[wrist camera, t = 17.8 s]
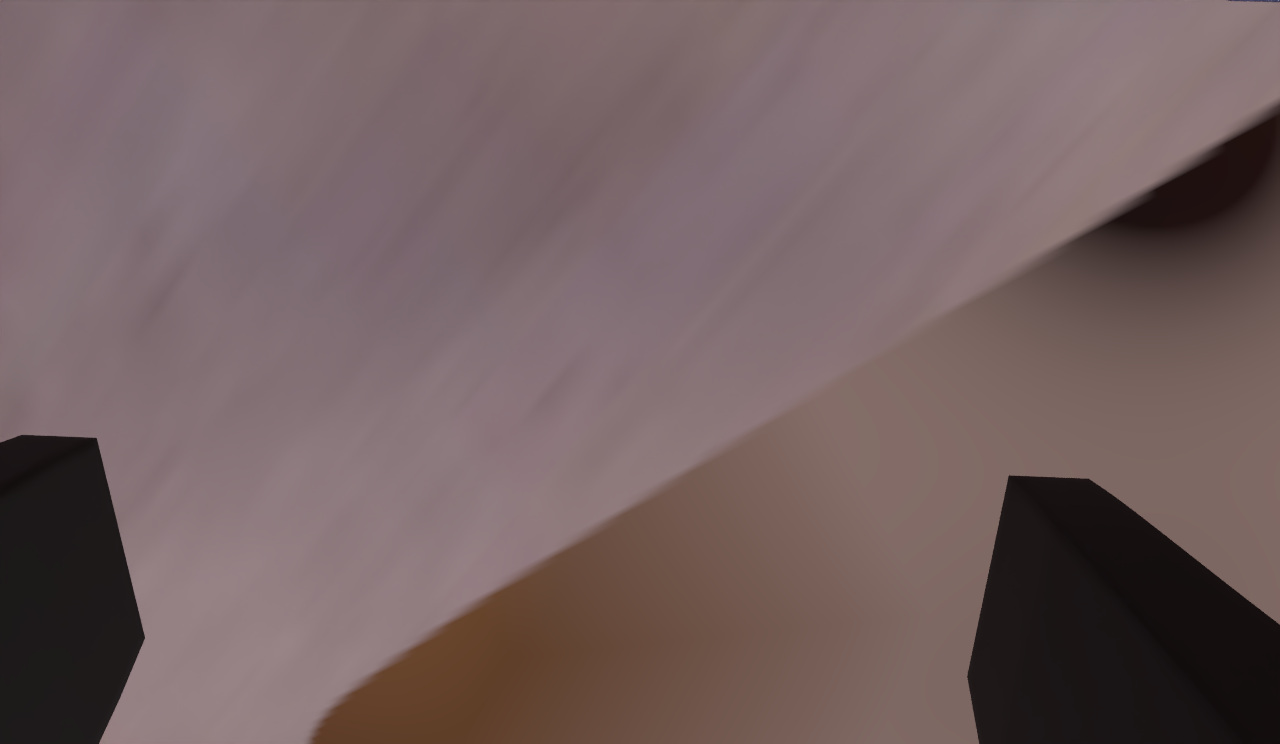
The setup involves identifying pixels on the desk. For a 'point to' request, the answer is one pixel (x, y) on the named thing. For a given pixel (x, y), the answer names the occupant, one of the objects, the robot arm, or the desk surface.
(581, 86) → the desk surface
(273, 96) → the desk surface
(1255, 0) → the crock lid
